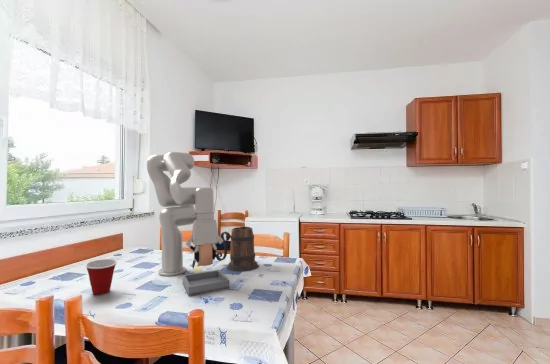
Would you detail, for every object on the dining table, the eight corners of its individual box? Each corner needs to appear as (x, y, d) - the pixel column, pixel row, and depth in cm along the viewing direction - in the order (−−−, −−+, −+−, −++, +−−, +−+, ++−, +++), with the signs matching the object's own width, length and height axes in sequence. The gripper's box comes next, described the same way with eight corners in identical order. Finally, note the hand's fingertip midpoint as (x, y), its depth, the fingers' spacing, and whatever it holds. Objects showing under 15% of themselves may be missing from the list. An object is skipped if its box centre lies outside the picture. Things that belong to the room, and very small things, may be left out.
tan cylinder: (196, 263, 116) (196, 241, 116) (210, 261, 118) (210, 240, 119) (199, 266, 110) (199, 244, 111) (214, 264, 113) (214, 242, 113)
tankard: (263, 263, 147) (263, 226, 148) (252, 272, 131) (251, 231, 132) (223, 260, 154) (223, 224, 154) (208, 269, 138) (208, 229, 138)
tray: (182, 283, 118) (182, 275, 118) (219, 277, 125) (218, 269, 125) (188, 296, 104) (188, 287, 104) (229, 288, 111) (229, 280, 111)
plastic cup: (93, 300, 102) (93, 267, 102) (79, 294, 107) (79, 263, 108) (122, 290, 111) (122, 260, 111) (108, 285, 117) (108, 257, 117)
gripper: (184, 219, 108) (185, 265, 107) (227, 216, 115) (228, 259, 115) (181, 217, 114) (182, 261, 114) (222, 215, 122) (223, 255, 122)
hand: (205, 259), depth 114 cm, fingers closed on tan cylinder, 6 cm apart
